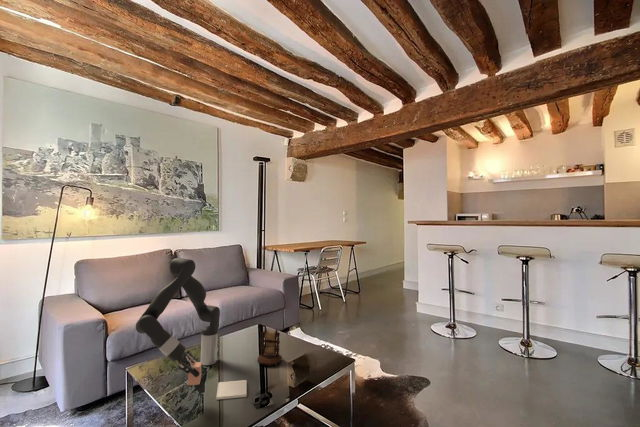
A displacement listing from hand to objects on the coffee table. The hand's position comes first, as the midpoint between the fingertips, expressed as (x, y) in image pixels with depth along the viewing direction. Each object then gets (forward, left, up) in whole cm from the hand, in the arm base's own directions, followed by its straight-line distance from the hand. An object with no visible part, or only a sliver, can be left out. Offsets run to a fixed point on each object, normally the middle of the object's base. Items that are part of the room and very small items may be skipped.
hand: (199, 372), depth 146 cm
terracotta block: (0, -2, -4) cm, 5 cm away
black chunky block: (+7, +30, -15) cm, 34 cm away
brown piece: (-37, +36, -14) cm, 54 cm away
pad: (-8, +15, -14) cm, 22 cm away
